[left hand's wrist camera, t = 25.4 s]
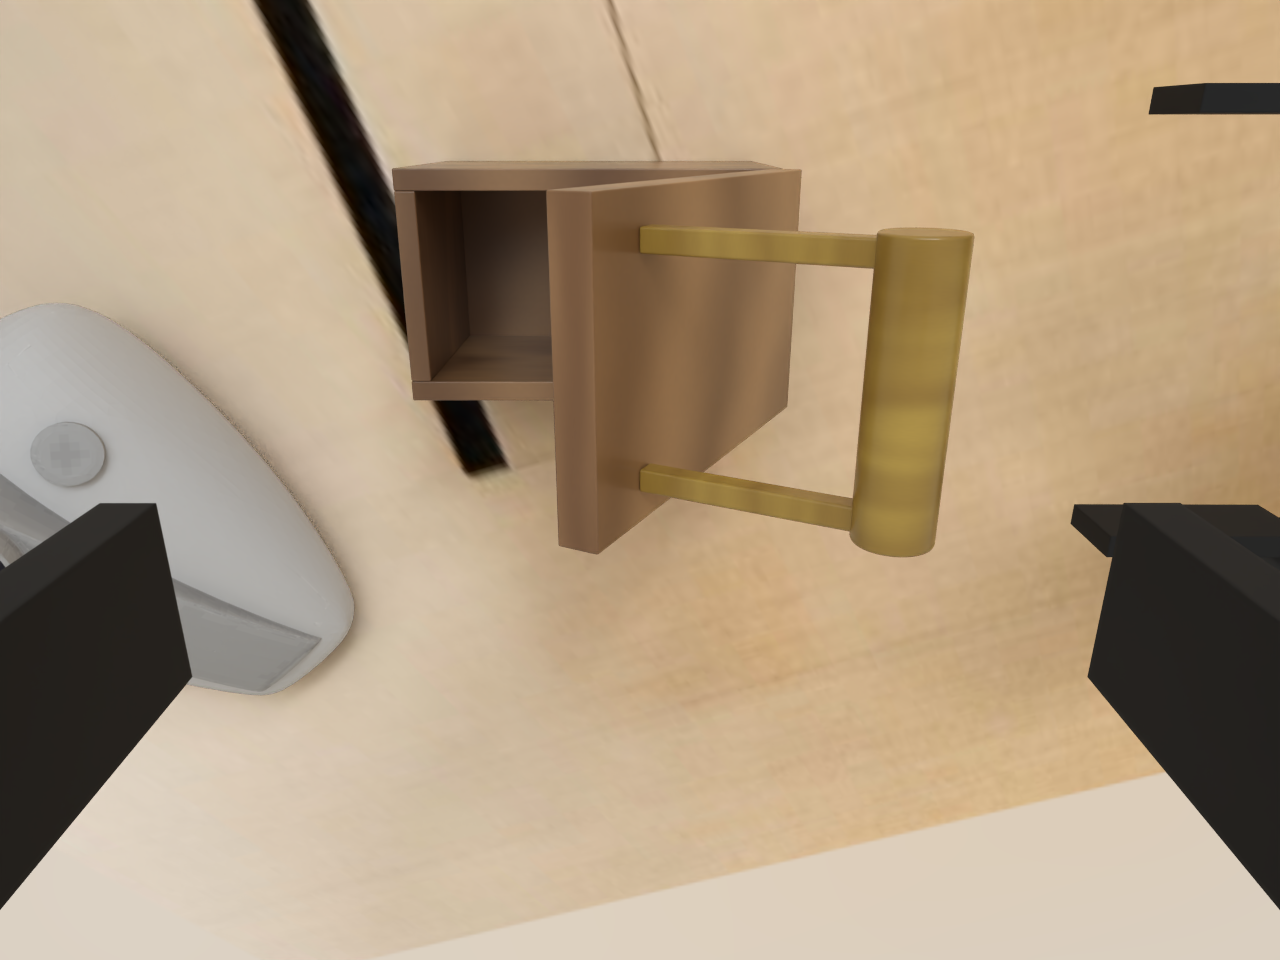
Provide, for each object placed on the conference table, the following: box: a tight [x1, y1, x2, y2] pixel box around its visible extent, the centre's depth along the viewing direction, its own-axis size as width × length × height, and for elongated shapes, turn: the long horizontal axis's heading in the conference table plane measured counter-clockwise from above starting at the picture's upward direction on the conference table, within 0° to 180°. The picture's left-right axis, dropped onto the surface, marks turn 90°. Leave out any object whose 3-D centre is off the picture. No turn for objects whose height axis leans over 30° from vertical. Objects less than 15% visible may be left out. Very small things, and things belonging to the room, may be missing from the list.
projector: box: [0, 303, 354, 695], centre depth 44 cm, size 22×23×15 cm
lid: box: [546, 169, 974, 557], centre depth 28 cm, size 16×9×10 cm
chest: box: [392, 161, 782, 400], centre depth 41 cm, size 15×9×10 cm, turn 90°
